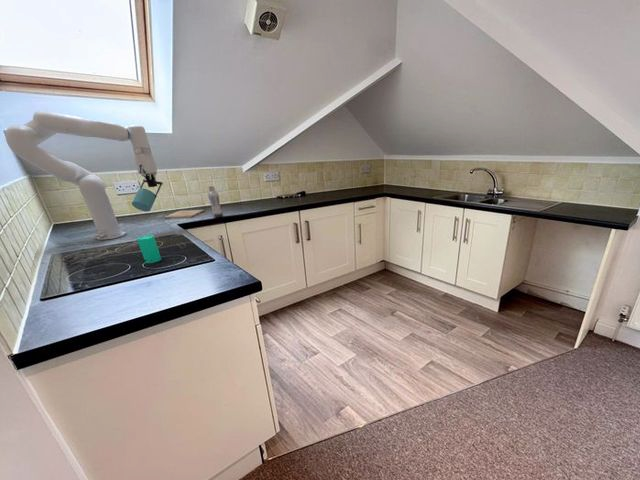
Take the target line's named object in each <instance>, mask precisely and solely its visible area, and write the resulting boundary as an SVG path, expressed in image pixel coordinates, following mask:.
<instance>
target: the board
mask: <svg viewBox="0 0 640 480" xmlns="http://www.w3.org/2000/svg"><path fill="white" fill-rule="evenodd" d="M204 212H205V209H187V210H185V209H183V210H178V211H175V212H173V213H170V214H167V215H165V216H163V218H164V219H188V218H190V219H191V218H194V217H196V216H198V215H200V214H203V213H204Z"/></svg>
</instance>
